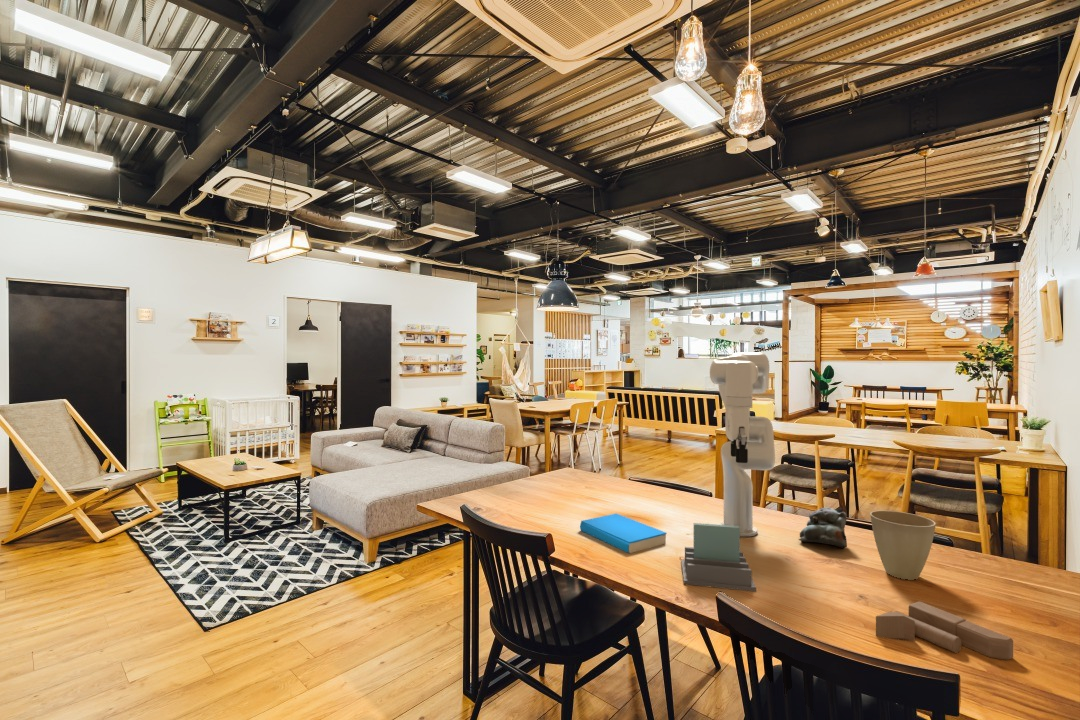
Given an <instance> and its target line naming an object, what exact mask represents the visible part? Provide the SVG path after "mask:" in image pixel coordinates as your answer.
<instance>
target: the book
mask: <svg viewBox="0 0 1080 720" xmlns="http://www.w3.org/2000/svg"><path fill="white" fill-rule="evenodd" d="M579 529H580V531H581V532H583V533H585V534H587V535H589V536H592V537H594V538H596V539H597V540H601V541H602V542H604V543H606V544H609V545H611V546H613V547H615V548H617V549H618V550H621V551H623V552H626V553H627V554H632V553H635V552H639V551H642V550H647V549H650V548H654V547H658V546H661V545H665V544H666V543H667V540H666V538H667V536H666V535H667V532H665V531H663V530H660V529H658V528H655V527H653V526H650V525H647V524H645V523H643V522H640V521H638V520H634V519H632V518H629V517H628V516H627V517H626V516H623V515H622V514H618V513H613V514H612V513H611V514H608V515H603V516H598V517H592V518H587V519H583V520H581V521H580V525H579Z"/></svg>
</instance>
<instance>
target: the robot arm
mask: <svg viewBox="0 0 1080 720" xmlns="http://www.w3.org/2000/svg"><path fill="white" fill-rule="evenodd" d="M769 377H770V360H769V358H768V356H767V355H766V354H765V353H763V352H733V353H731V354H730V355H728V356H726V357H720V358H716V359H713V360H712V362H711V365H710V368H709V378H710V380H711V383H713V384H714V385H718V390H719V391H718V392H719V395H720V398H721V400H722V403H723V405H724V409H725V414H724V415H725V419H724V420H725V422H724V423H725V427H724V428H725V435H726V438H727V439H728V440H729V441H726V442H725V443H723V444H722V446H721V448H720V457H721V463H722V472H723V473H722V474H723V522H722V523H720V524H719V525H730V526H739V528H740V537H742V538H743V537H748V538H749V537H755V536H756V535H757V534H758V528H757V527H755V526H754V525H753V523H754V522H753V515H754V514H753V503H754V501H753V490H754V489H753V480H752V479H751V477H750V475H749V474H748V473H747V472H746V471H745V470H753V471H770V470H772V469H774V467H775V463H776V452H775V451H776V449H775V440H774V439H775V437H774V427H773V423H772V422H771V420H770V419H769V418H768V417H765V416H756V415H755V416H753V415H752V416H751V412H750V411H751V409H752V408H753V395H754V394H756V395H759V394H764V393H765V392H767V391H768V387H769Z"/></svg>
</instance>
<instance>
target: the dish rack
mask: <svg viewBox="0 0 1080 720" xmlns="http://www.w3.org/2000/svg"><path fill="white" fill-rule="evenodd" d="M746 561H747V559H746V557H745V556H744V552H743V551H740V562H732V561H721V560H709V559H698V558H693V547H690V546H684V559H683V558H681V560H680V564H681V571H682V572H681V573H682V579H683V584H684V585H686V584H688V585H687V586H689V585H690V586H696V585H697V586H699V587H706V586H711V587H710V588H716V587H718V588H717V589H728V590H739V591H747V592H748V591H749V592H757V586H756V584H755V581H754V580H753V578H752V569H751V568H749V566H750V565H749V562H746Z"/></svg>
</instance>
